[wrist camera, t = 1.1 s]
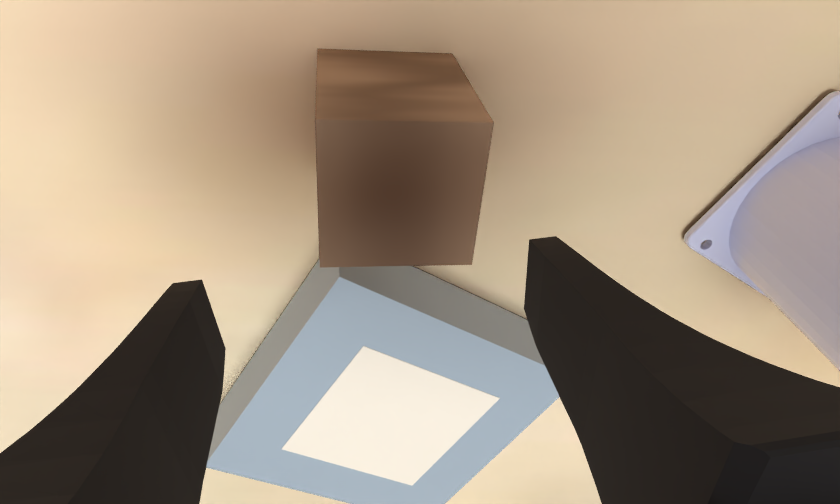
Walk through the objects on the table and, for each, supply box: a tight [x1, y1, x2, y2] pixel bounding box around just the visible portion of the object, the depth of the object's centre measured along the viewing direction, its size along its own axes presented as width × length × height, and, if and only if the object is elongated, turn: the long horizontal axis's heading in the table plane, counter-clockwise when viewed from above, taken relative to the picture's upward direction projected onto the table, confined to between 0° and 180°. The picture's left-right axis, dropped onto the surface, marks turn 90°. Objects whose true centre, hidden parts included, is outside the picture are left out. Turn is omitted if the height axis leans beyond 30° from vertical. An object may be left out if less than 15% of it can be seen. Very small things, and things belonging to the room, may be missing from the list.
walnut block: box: [315, 49, 494, 268], centre depth 18 cm, size 4×4×6 cm
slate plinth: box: [206, 260, 560, 504], centre depth 27 cm, size 12×12×3 cm
